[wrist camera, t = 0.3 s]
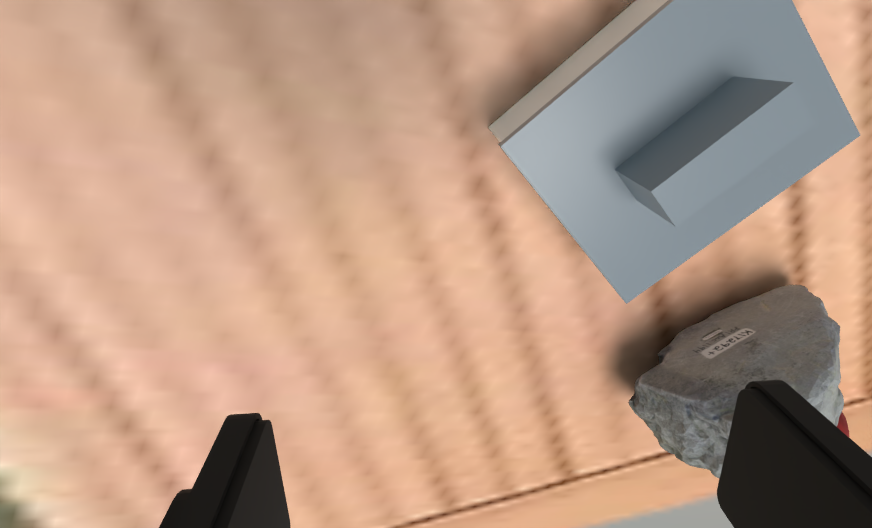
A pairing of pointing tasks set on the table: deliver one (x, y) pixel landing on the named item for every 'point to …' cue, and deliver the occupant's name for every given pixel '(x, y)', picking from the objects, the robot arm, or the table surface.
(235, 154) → the table surface
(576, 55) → the tub
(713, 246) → the table surface
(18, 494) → the table surface
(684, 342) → the decorative rock
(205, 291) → the table surface
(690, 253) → the lid
